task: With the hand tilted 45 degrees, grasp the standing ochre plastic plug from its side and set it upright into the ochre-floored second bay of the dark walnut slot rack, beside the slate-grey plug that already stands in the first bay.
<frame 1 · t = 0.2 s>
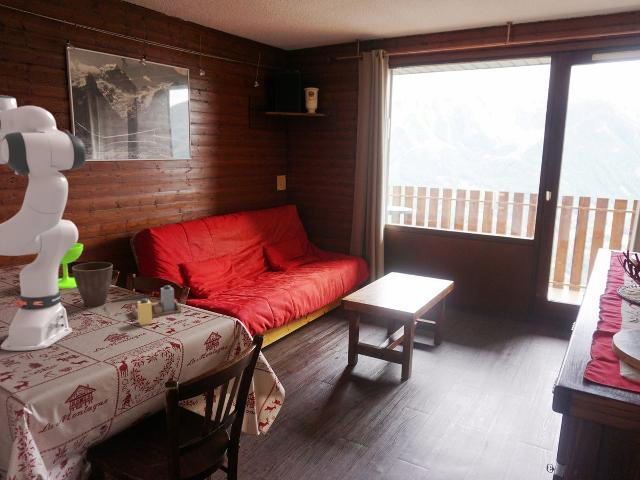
hand: (3, 174, 178), 52 cm above the table, tool tilted 20°, fingers open, 8 cm apart
plug grey: (167, 310, 184), point 1 cm above the table, touching slot rack
wineglass: (66, 284, 219), on the table
phone: (132, 302, 198), on the table
plant pot: (94, 304, 193), on the table
slot rack: (156, 315, 182), on the table
plug ochre: (145, 325, 171), on the table
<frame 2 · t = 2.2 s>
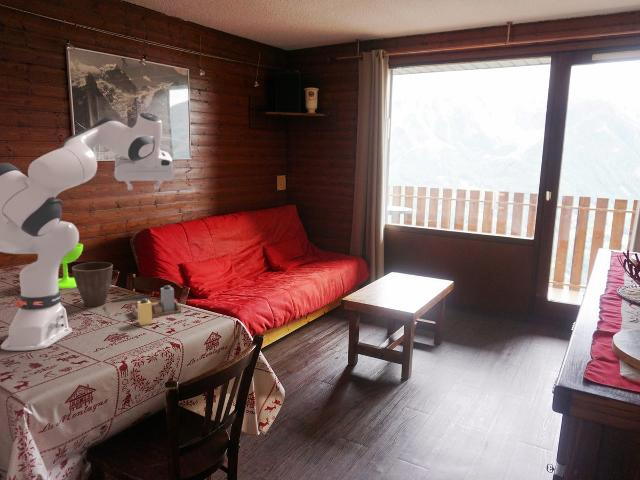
hand: (143, 188, 175), 49 cm above the table, tool tilted 30°, fingers open, 8 cm apart
nothing on the table moved.
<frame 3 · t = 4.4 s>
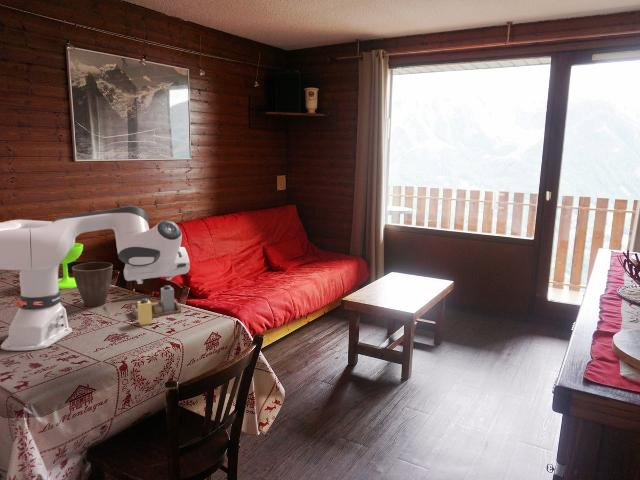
hand: (154, 280, 158), 20 cm above the table, tool tilted 45°, fingers open, 8 cm apart
nothing on the table moved.
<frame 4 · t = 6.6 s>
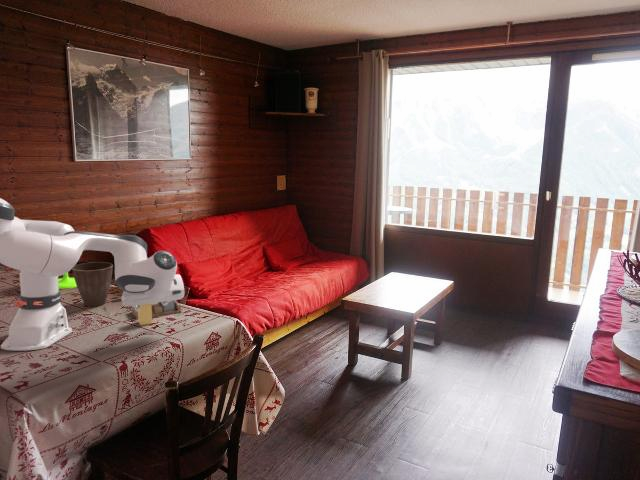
hand: (150, 305, 166), 9 cm above the table, tool tilted 45°, fingers open, 8 cm apart
nothing on the table moved.
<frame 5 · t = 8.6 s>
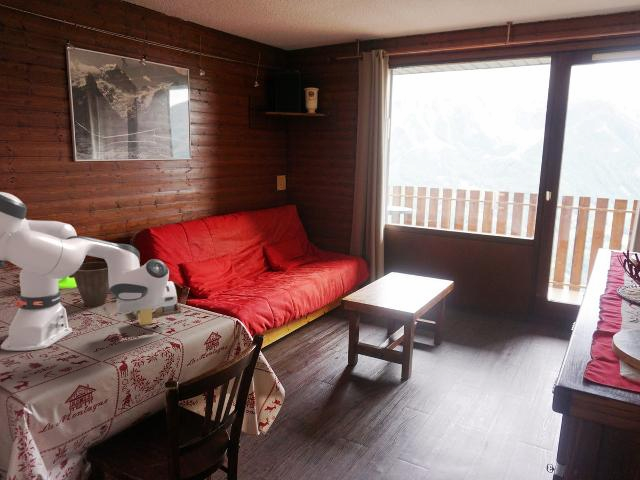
hand: (144, 311, 171), 5 cm above the table, tool tilted 45°, fingers closed on plug ochre, 4 cm apart
plug ochre: (145, 325, 171), on the table, touching gripper
everything else where it was.
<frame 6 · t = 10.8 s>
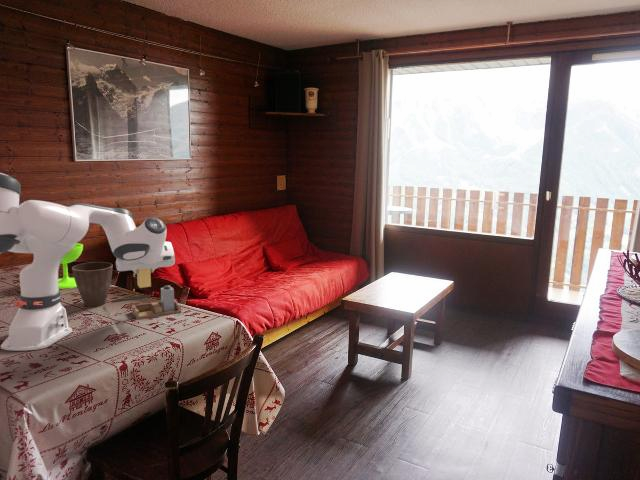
hand: (143, 271, 177), 18 cm above the table, tool tilted 45°, fingers closed on plug ochre, 4 cm apart
plug ochre: (144, 285, 178), point 12 cm above the table, touching gripper
everything else where it was.
when the fingers open (8 cm above the table, at t = 12.9 s): plug ochre drops 1 cm, resting on slot rack.
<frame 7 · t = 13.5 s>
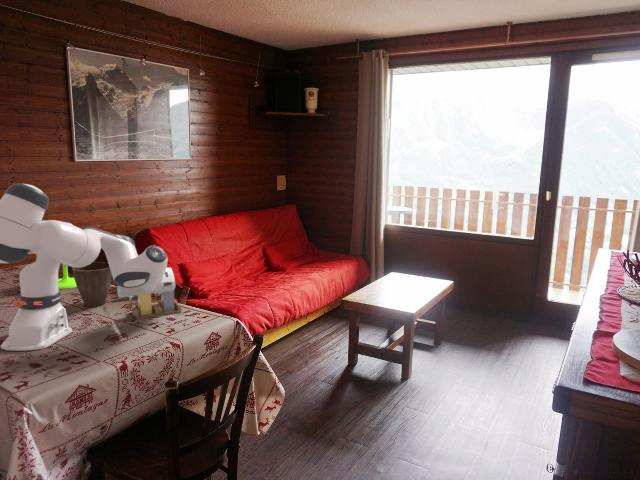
hand: (144, 296, 179), 8 cm above the table, tool tilted 45°, fingers open, 8 cm apart
plug grey: (167, 310, 184), point 1 cm above the table, touching gripper, slot rack
plug ochre: (145, 314, 180), point 1 cm above the table, touching slot rack
everything else where it was.
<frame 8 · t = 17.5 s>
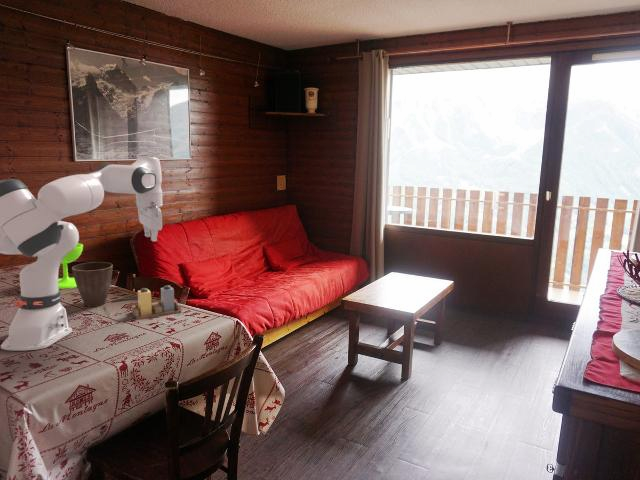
hand: (150, 238, 172), 31 cm above the table, tool pointing down, fingers open, 8 cm apart
plug grey: (167, 310, 184), point 1 cm above the table, touching slot rack
everything else where it was.
at the end: plug ochre 0.1 cm from the target spot on the slot rack, point 1.2 cm above the slot rack's base; plug ochre tilted 0°; plug grey moved 0.1 cm from its start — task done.
